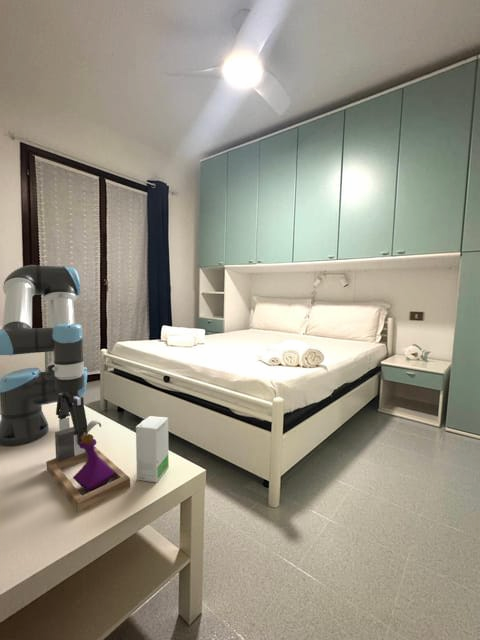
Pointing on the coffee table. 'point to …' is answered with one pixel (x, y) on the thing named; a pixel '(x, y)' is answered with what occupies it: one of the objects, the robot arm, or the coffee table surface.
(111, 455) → the coffee table surface
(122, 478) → the strip frame
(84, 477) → the perfume bottle
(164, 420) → the skincare box
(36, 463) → the coffee table surface
